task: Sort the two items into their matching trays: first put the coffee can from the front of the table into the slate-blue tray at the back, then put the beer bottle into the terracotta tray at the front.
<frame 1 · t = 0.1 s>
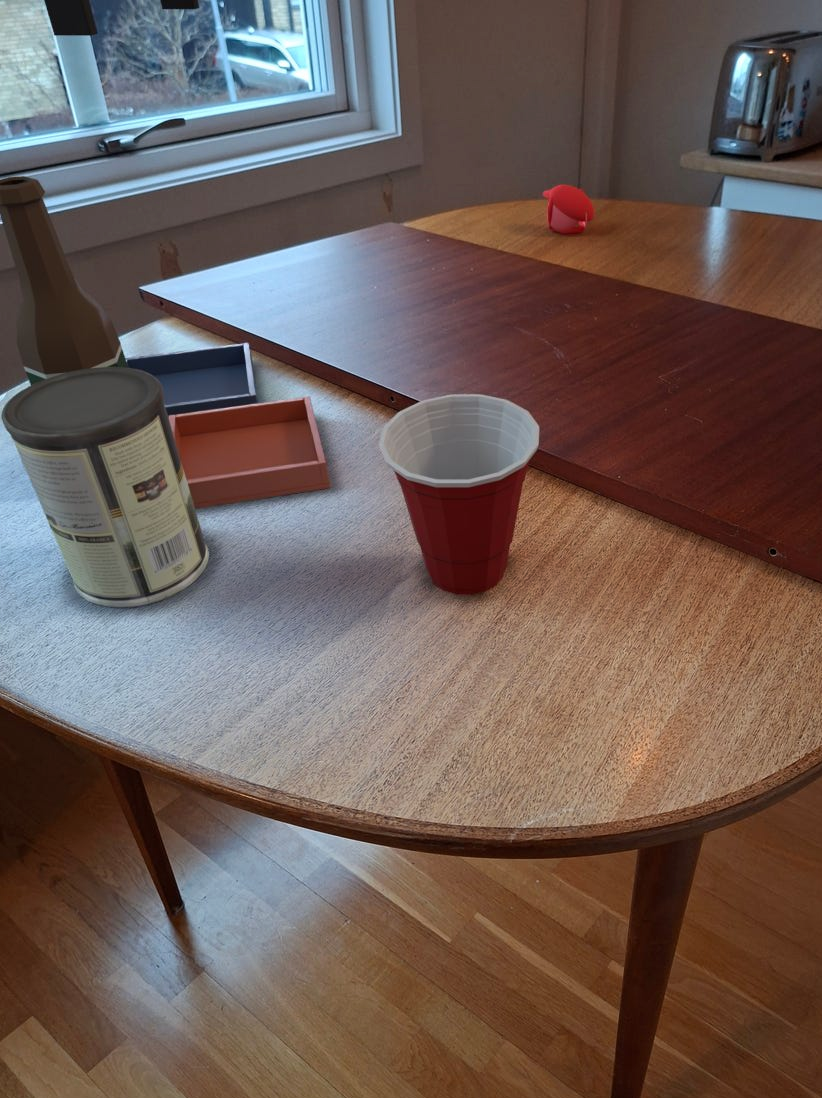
hand: (132, 21, 61), 33 cm above the table, tool pointing down, fingers open, 13 cm apart
plastic cup: (466, 576, 66), on the table
slate tray: (191, 399, 90), on the table
cap: (566, 231, 128), on the table
terracotta tray: (249, 462, 80), on the table
beer bottle: (114, 473, 79), on the table
coffee can: (142, 569, 68), on the table
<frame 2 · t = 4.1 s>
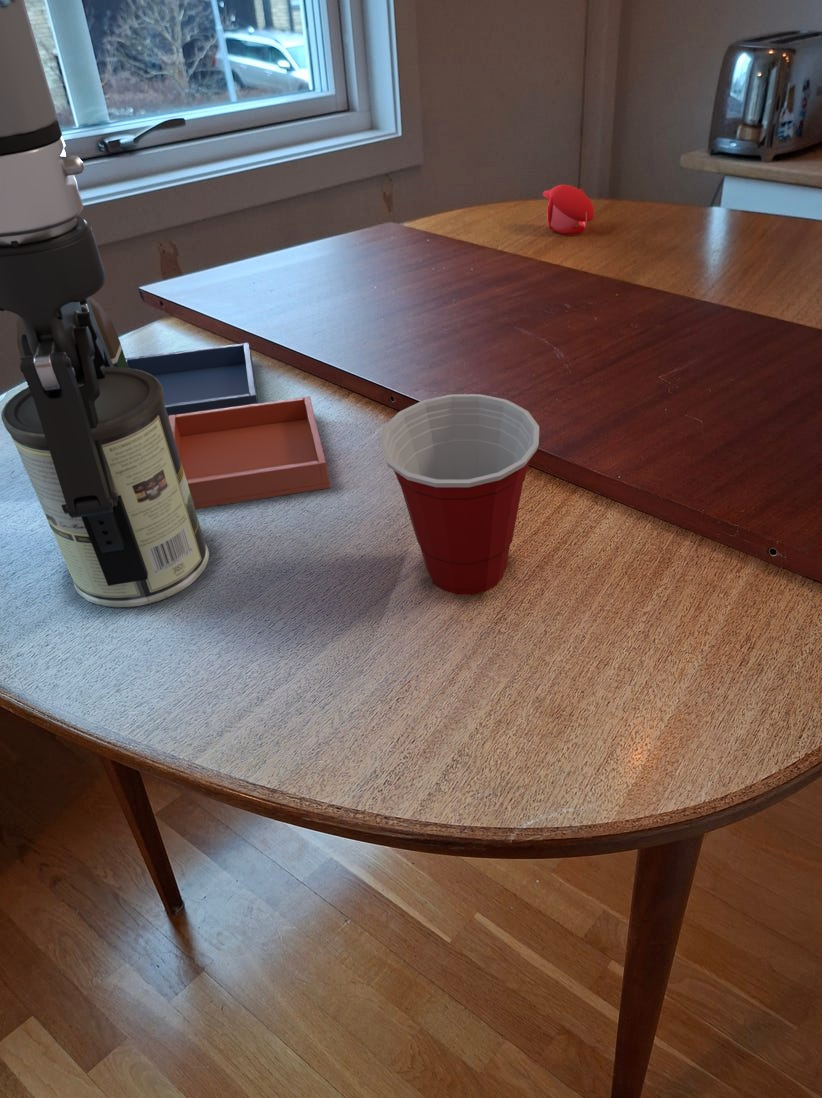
hand: (131, 538, 66), 3 cm above the table, tool pointing down, fingers closed on coffee can, 10 cm apart
coffee can: (142, 569, 68), on the table, touching gripper
everything else where it was.
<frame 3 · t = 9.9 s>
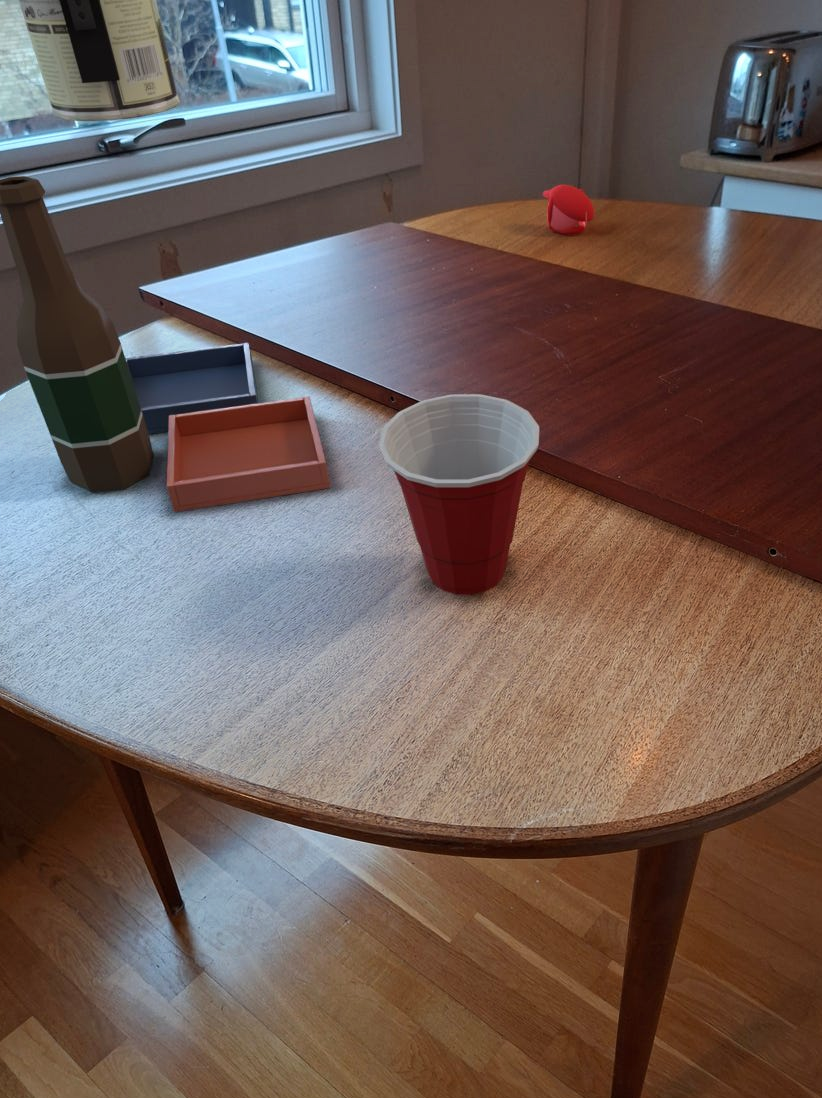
hand: (105, 70, 71), 29 cm above the table, tool pointing down, fingers closed on coffee can, 10 cm apart
coffee can: (117, 111, 73), point 26 cm above the table, touching gripper
everything else where it was.
when the fingers open (3 cm above the table, at t = 15.8 s): coffee can stays where it is, resting on slate tray.
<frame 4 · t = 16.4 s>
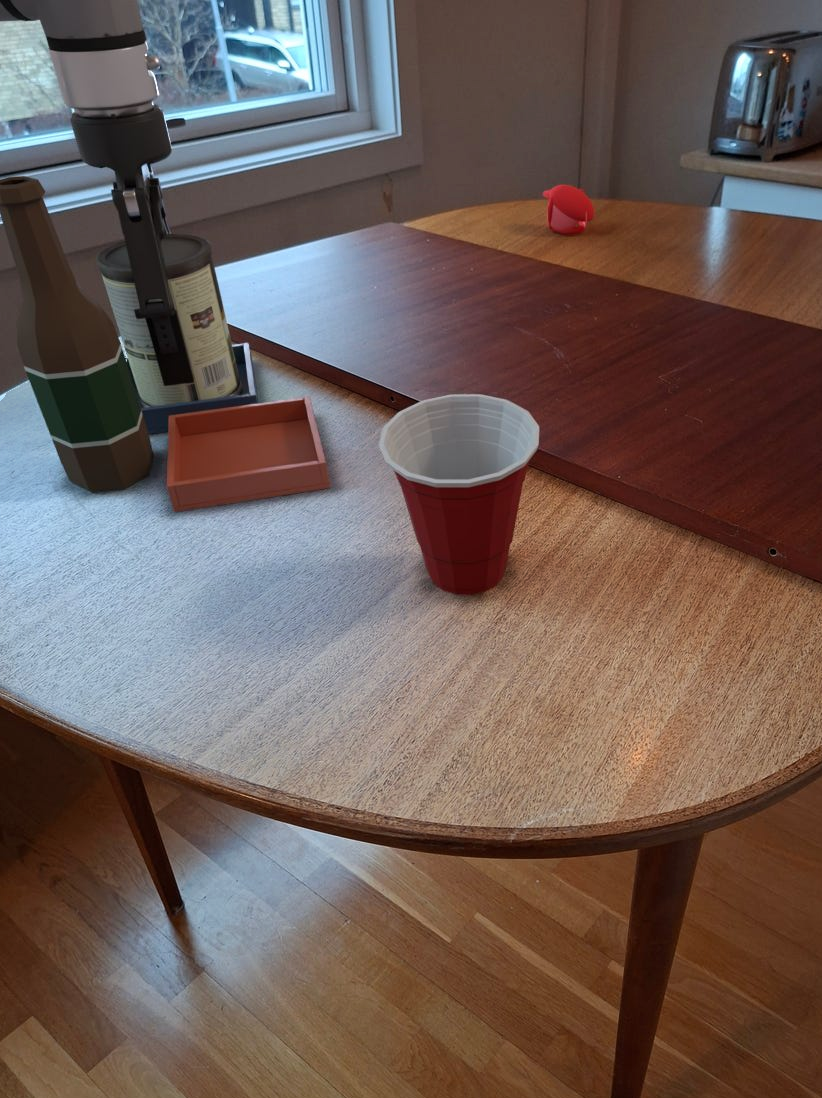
hand: (179, 354, 87), 5 cm above the table, tool pointing down, fingers open, 13 cm apart
coffee can: (191, 396, 90), resting on slate tray
everything else where it was.
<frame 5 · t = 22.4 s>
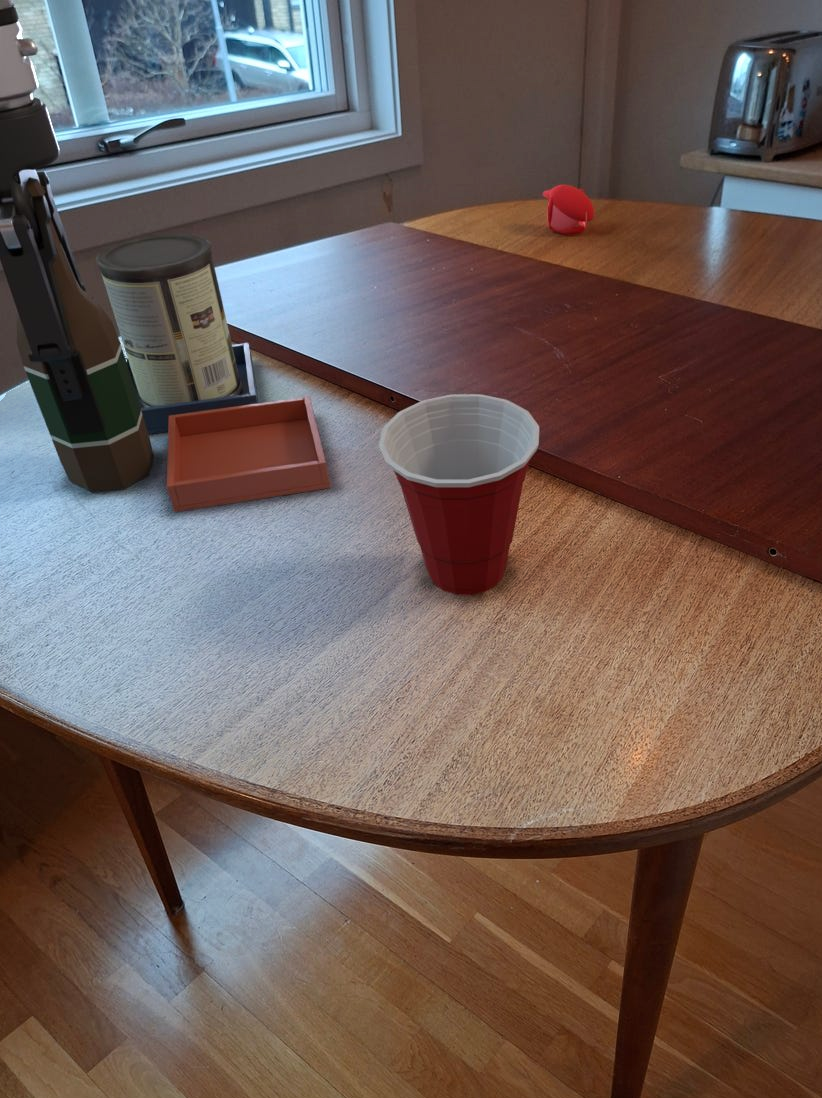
hand: (91, 409, 75), 6 cm above the table, tool pointing down, fingers closed on beer bottle, 7 cm apart
beer bottle: (114, 473, 79), on the table, touching gripper
everything else where it was.
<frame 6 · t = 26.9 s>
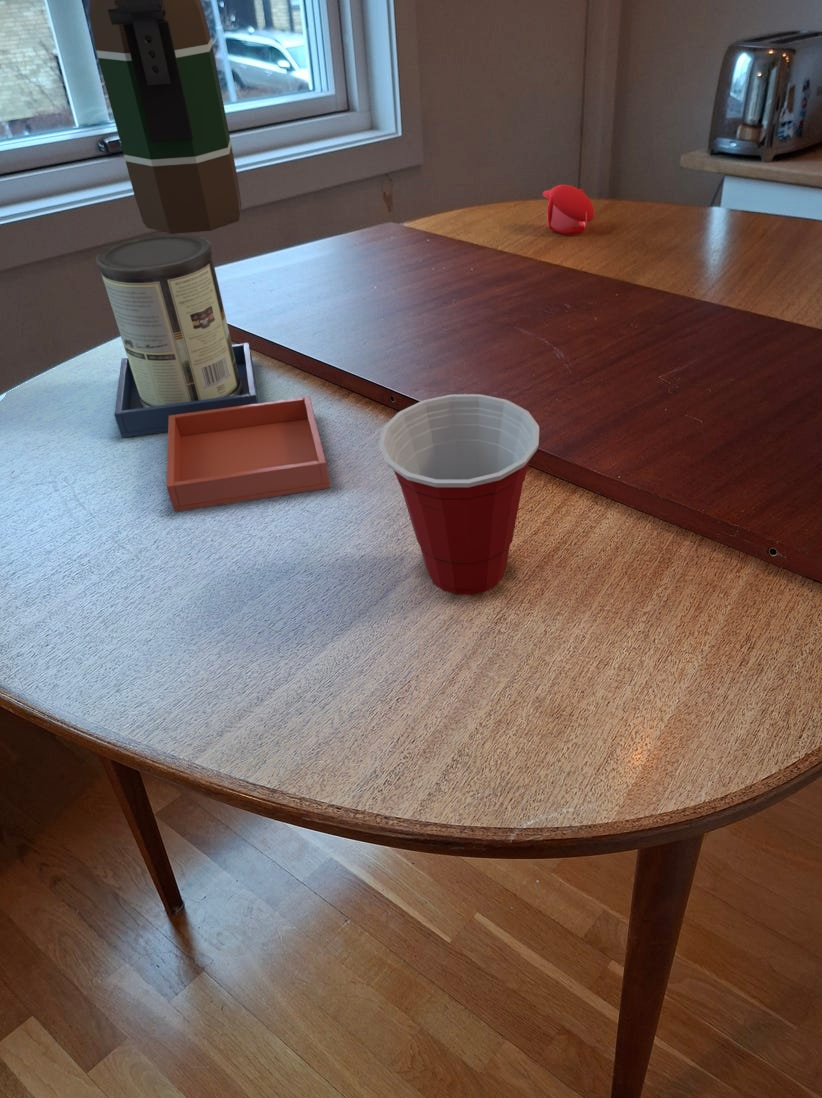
hand: (173, 127, 62), 27 cm above the table, tool pointing down, fingers closed on beer bottle, 7 cm apart
beer bottle: (195, 221, 66), point 21 cm above the table, touching gripper
everything else where it was.
when the fingers open (7 cm above the table, at t = 31.6 s): beer bottle stays where it is, resting on terracotta tray.
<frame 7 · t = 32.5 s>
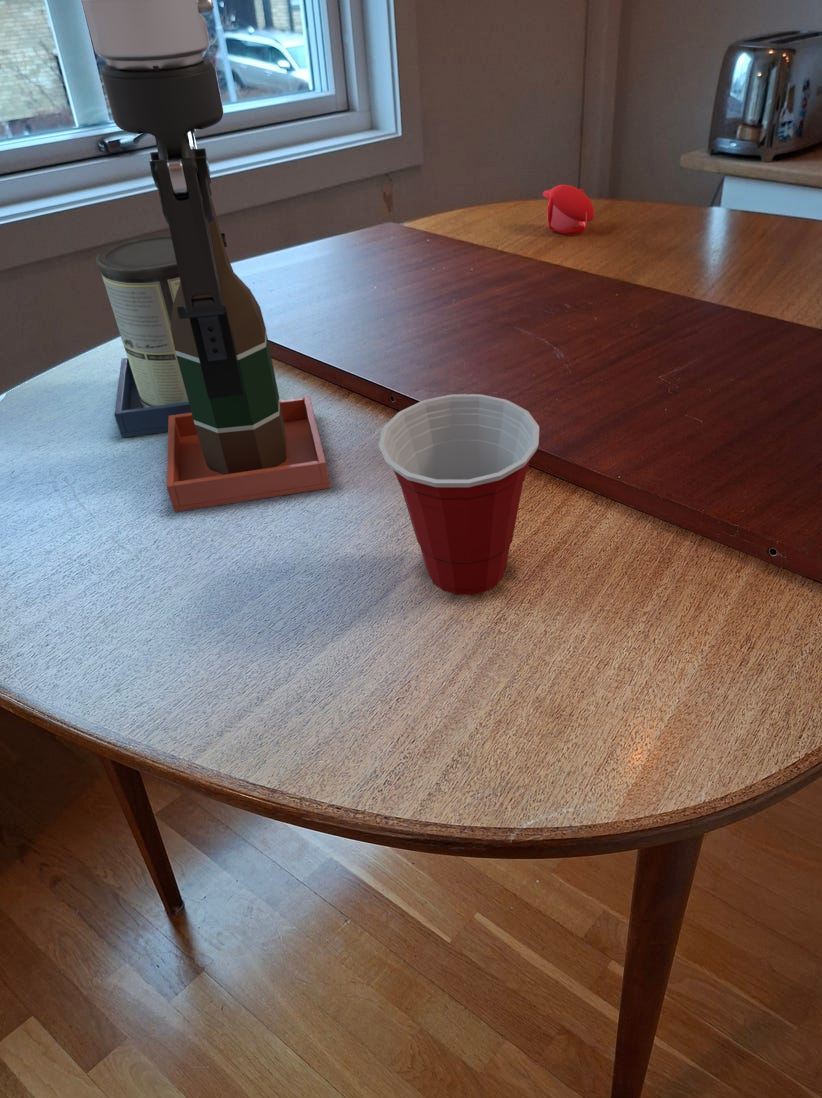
hand: (223, 360, 73), 10 cm above the table, tool pointing down, fingers open, 13 cm apart
beer bottle: (248, 459, 79), resting on terracotta tray
everything else where it was.
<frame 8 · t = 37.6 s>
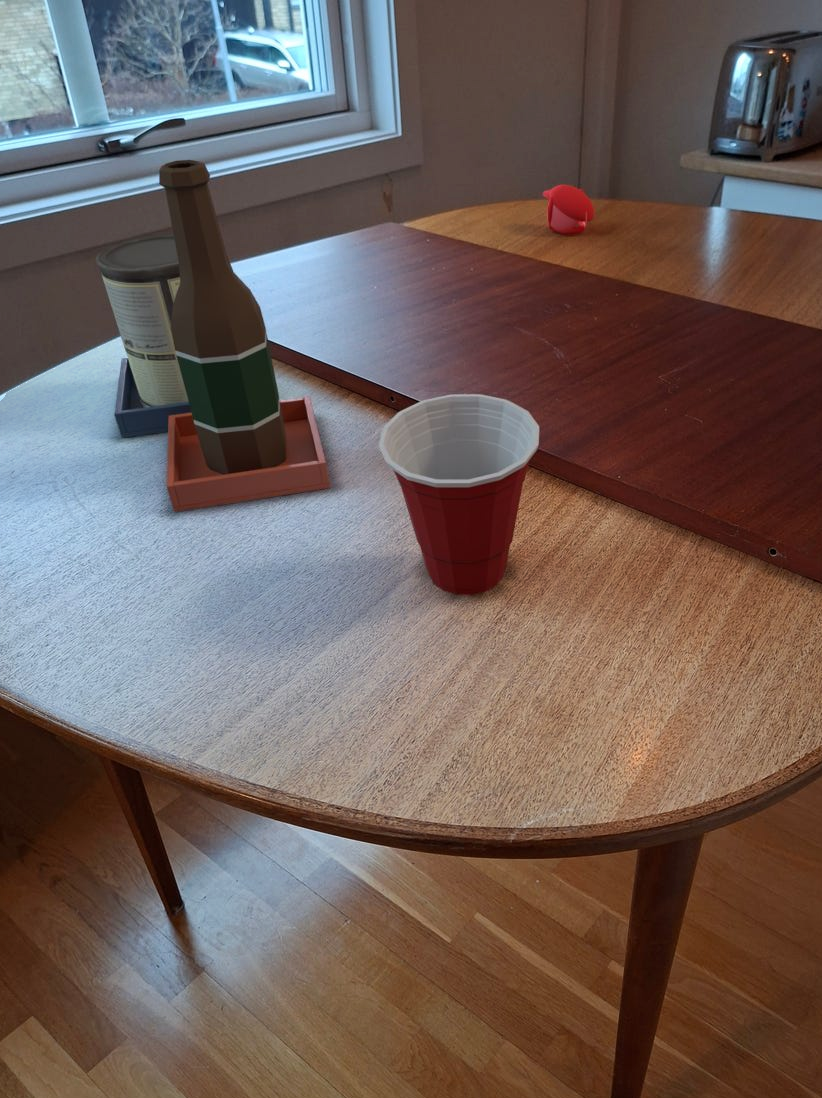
nothing on the table moved.
at the end: coffee can inside the target area in the slate tray (0.1 cm from its centre), point 0.3 cm above the slate tray's base; beer bottle inside the target area in the terracotta tray (0.0 cm from its centre), point 0.3 cm above the terracotta tray's base; beer bottle tilted 0° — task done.
